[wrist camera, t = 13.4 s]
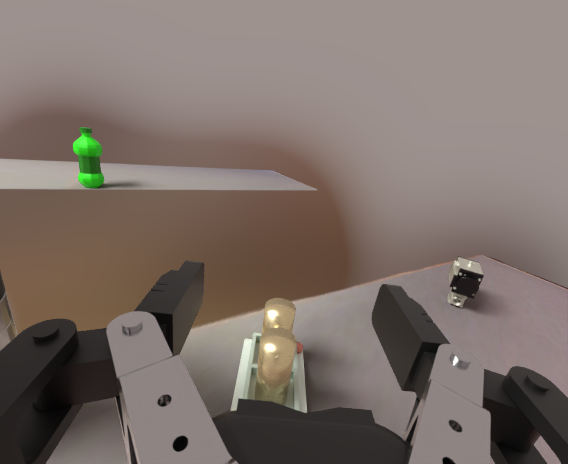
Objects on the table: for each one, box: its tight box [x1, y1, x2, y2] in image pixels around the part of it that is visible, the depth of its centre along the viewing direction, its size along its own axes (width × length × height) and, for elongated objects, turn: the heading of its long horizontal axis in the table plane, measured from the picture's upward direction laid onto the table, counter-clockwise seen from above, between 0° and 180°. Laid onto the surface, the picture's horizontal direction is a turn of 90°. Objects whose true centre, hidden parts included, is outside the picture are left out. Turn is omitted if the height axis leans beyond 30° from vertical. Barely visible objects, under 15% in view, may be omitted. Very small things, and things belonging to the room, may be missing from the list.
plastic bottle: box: [73, 127, 104, 188], centre depth 120 cm, size 10×10×25 cm
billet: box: [254, 327, 296, 406], centre depth 36 cm, size 4×4×10 cm
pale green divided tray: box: [231, 333, 307, 413], centre depth 41 cm, size 10×14×3 cm
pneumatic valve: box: [447, 256, 483, 308], centre depth 68 cm, size 6×12×12 cm, turn 151°
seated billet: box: [262, 298, 296, 333], centre depth 42 cm, size 4×4×10 cm
